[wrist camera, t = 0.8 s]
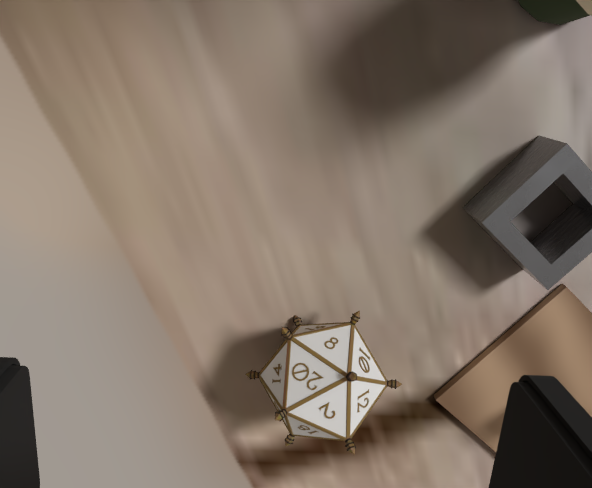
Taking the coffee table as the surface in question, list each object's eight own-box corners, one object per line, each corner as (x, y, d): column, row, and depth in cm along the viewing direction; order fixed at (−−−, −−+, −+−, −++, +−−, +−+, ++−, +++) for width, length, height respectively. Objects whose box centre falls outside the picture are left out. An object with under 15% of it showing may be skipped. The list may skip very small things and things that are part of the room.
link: (538, 135, 35) (567, 143, 31) (598, 203, 36) (631, 217, 33) (462, 207, 36) (482, 222, 33) (523, 269, 38) (547, 290, 34)
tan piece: (562, 283, 38) (609, 320, 33) (659, 385, 41) (717, 433, 36) (433, 395, 40) (457, 445, 35) (534, 483, 43) (570, 542, 38)
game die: (289, 334, 43) (197, 397, 35) (347, 263, 38) (255, 318, 30) (372, 424, 40) (293, 513, 33) (444, 361, 35) (372, 448, 28)
